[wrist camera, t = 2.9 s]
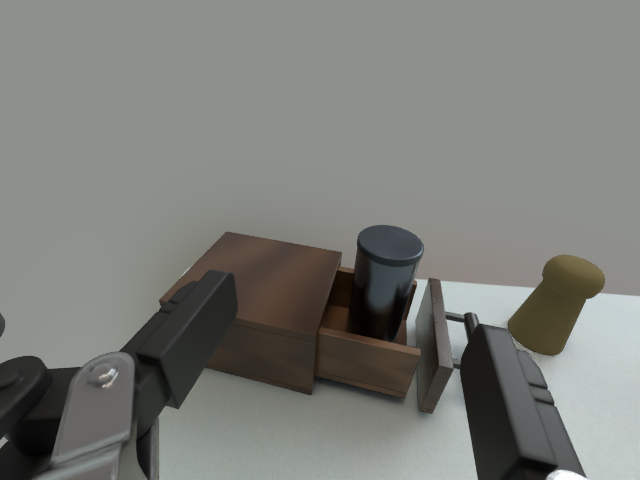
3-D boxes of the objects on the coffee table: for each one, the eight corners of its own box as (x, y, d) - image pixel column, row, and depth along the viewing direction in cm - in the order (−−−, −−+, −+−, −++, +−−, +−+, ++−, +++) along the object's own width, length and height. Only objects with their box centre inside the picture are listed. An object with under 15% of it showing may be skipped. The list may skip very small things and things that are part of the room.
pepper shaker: (551, 321, 40) (597, 252, 34) (572, 360, 35) (631, 287, 29) (502, 311, 41) (538, 243, 35) (516, 348, 36) (561, 275, 30)
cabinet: (335, 305, 40) (342, 251, 35) (311, 395, 30) (315, 336, 25) (233, 283, 42) (226, 231, 38) (177, 360, 32) (158, 300, 27)
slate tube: (348, 365, 30) (366, 261, 23) (339, 322, 35) (351, 224, 28) (402, 362, 31) (435, 259, 24) (386, 320, 36) (410, 223, 29)
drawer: (461, 329, 37) (480, 287, 33) (480, 427, 27) (511, 382, 23) (318, 300, 39) (321, 257, 36) (290, 378, 30) (291, 331, 26)
